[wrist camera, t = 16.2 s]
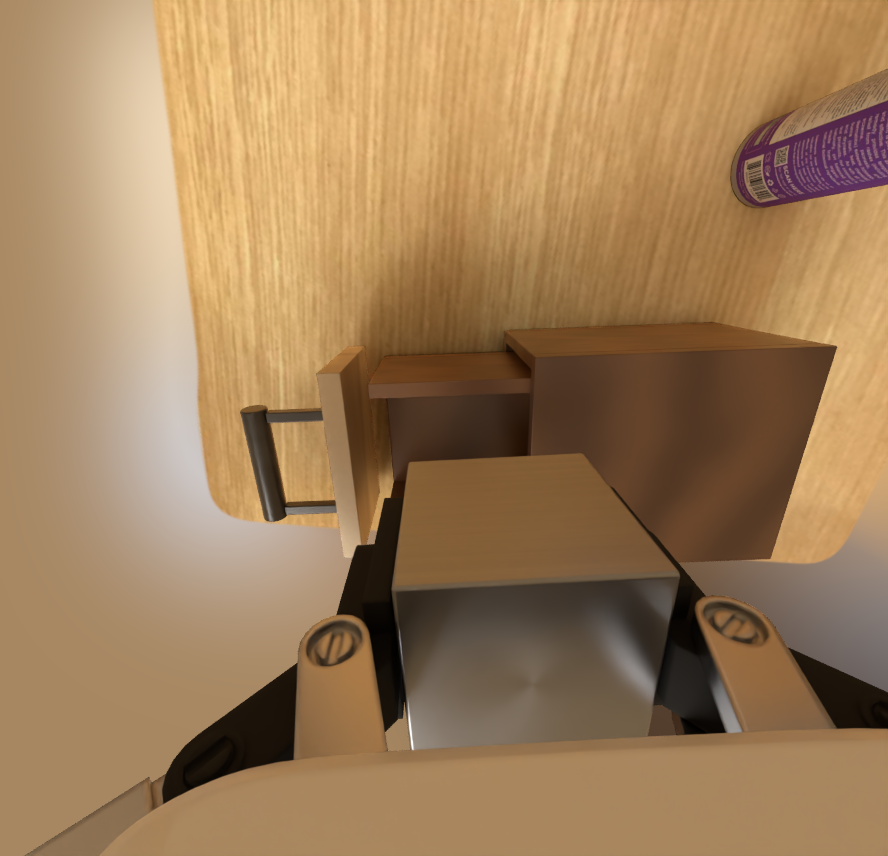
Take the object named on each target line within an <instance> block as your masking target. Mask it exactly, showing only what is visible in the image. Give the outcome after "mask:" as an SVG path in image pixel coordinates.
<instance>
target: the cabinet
mask: <svg viewBox="0 0 888 856" xmlns="http://www.w3.org/2000/svg"><path fill="white" fill-rule="evenodd" d="M836 349H837V346H834V345H828V344H821V343H817V342H812V341H806V340H801V339H796V338H791V337H785V336H780V335H775V334H770V333H764V332H759V331H754V330H749V329H743V328H738V327H733V326H727V325H722V324H717V323H712V322H710V323H683V324H655V325H628V326H601V327H574V328H547V329H519V330H505V331H504V352H515V353H516V354H517V355H518V356H519V357H520V358H521V359H522V360H523V361H524V362H525V363H526V364H527V365H528V366H529V367H530V368H531V387H530V409H529V432H528V454H527V456H538V455H557V454H577V453H582V454H584V455H585V457H586V458H587V459H588V460H589V461H590V463H591V464H592V465H593V466H594V468H595V469H596V470H597V471H598V473H599V474H600V475H601V476H602V477H603V479H604V480H605V481H606V482H607V484H608V485H609V486H610V487H613V488H614V489H615V490H616V491H617V492H618V494H619V495H620V496H621V497H622V499H623V500H624V501H625V502H626V503H627V505H628V506H629V507H630V508H631V510H632V511H633V512H634V513H635V514H636V516H637V517H638V518H639V519H640V521H641V522H642V523H643V524H644V525H645V527H646V528H647V529H648V530H649V531H651V532H652V533H653V534H655V536H656V537H657V538H658V539H659V540H660V542H661V543H662V544H663V545H664V546H665V548H666V549H667V550H668V551H669V552H670V554H671V555H672V556H673V557H674V558H675V560H676V561H677V562H678V563H680V562H705V561H729V560H755V559H770V558H771V555H772V552H773V549H774V546H775V543H776V539H777V536H778V533H779V530H780V527H781V523H782V520H783V517H784V514H785V511H786V508H787V504H788V501H789V498H790V495H791V492H792V488H793V485H794V482H795V479H796V476H797V473H798V469H799V466H800V463H801V460H802V457H803V453H804V450H805V447H806V444H807V441H808V438H809V434H810V431H811V428H812V425H813V422H814V418H815V415H816V412H817V409H818V406H819V403H820V399H821V396H822V393H823V390H824V387H825V383H826V380H827V377H828V374H829V371H830V368H831V364H832V361H833V358H834V355H835V352H836Z"/></svg>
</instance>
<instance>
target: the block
mask: <svg viewBox="0 0 888 856" xmlns="http://www.w3.org/2000/svg"><path fill="white" fill-rule="evenodd" d="M679 580H680V574H679V571H678V570H677V569H676V568H675V566H674V565H673V564H672V563H671V561H670V560H669V559H668V558H667V557H666V555H665V554H664V553H663V552H662V550H661V549H660V548H659V547H658V545H657V544H656V543H655V542H654V540H653V539H652V538H651V537H650V536H649V534H648V533H647V532H646V531H645V529H644V528H643V527H642V526H641V524H640V523H639V522H638V521H637V519H636V518H635V517H634V516H633V515H632V513H631V512H630V511H629V510H628V508H627V507H626V506H625V505H624V503H623V502H622V501H621V500H620V498H619V497H618V496H617V495H616V494H615V492H614V491H613V490H612V489H611V487H610V486H609V485H608V484H607V482H606V481H605V480H604V479H603V477H602V476H601V475H600V474H599V473H598V471H597V470H596V469H595V468H594V466H593V465H592V464H591V463H590V461H589V460H588V459H587V458H586V457H585V455H584V454H582V453H577V454H557V455H538V456H518V457H498V458H479V459H459V460H439V461H419V462H410V463H409V464H408V471H407V478H406V485H405V493H404V500H403V507H402V515H401V522H400V530H399V537H398V544H397V552H396V559H395V567H394V574H393V581H392V589H391V590H392V598H393V607H394V615H395V624H396V632H397V641H398V650H399V658H400V667H401V675H402V684H403V692H404V701H405V709H406V717H407V726H408V735H409V742H410V750H420V749H437V748H453V747H470V746H487V745H504V744H522V743H540V742H559V741H577V740H596V739H615V738H634V737H647V736H648V731H649V726H650V721H651V717H652V712H653V707H654V702H655V697H656V692H657V687H658V682H659V677H660V673H661V668H662V663H663V658H664V653H665V648H666V643H667V638H668V634H669V629H670V624H671V619H672V614H673V609H674V604H675V599H676V594H677V590H678V585H679Z"/></svg>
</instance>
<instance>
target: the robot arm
mask: <svg viewBox="0 0 888 856" xmlns="http://www.w3.org/2000/svg"><path fill="white" fill-rule="evenodd" d="M611 489H612V490H613V491H614V492H615V494H616V495H617V496H618V497H619V498H620V500H621V501H622V502H623V503H624V505H625V506H626V507H627V508H628V510H629V511H630V512H631V513H632V515H633V516H634V517H635V518H636V519H637V521H638V522H639V523H640V524H641V526H642V527H643V528H644V529H645V531H646V532H647V533H648V534H649V536H650V537H651V538H652V539H653V540H654V542H655V543H656V544H657V545H658V547H659V548H660V549H661V550H662V552H663V553H664V554H665V555H666V557H667V558H668V559H669V560H670V561H671V563H672V564H673V565H674V566H675V568H676V569H677V570H678V571H679V574H680V580H679V585H678V590H677V594H676V599H675V604H674V609H673V614H672V619H671V624H670V629H669V634H668V638H667V643H666V648H665V653H664V658H663V663H662V668H661V673H660V677H659V682H658V687H657V692H656V697H655V702H654V705H663V706H665V707H666V708H668V709H669V710H671V711H672V720H673V724H674V727H675V731H676V735H674V736H655V737H634V738H615V739H596V740H577V741H559V742H540V743H522V744H504V745H487V746H470V747H453V748H437V749H420V750H404V751H388V748H387V743H386V736H385V732H386V731H387V730H388V729H389V728H390V727H391V726H392V725H393V724H394V723H395V722H396V721H397V720H398V719H402V718H403V710H404V702H405V701H404V692H403V684H402V675H401V667H400V658H399V650H398V641H397V632H396V624H395V615H394V607H393V598H392V590H391V589H392V581H393V574H394V567H395V559H396V552H397V544H398V537H399V530H400V522H401V515H402V507H403V500H404V497H397V498H385V499H384V503H383V508H382V512H381V517H380V521H379V526H378V531H377V535H376V540H375V544H371V545H357V546H356V549H355V551H354V555H353V559H352V562H351V565H350V569H349V573H348V576H347V579H346V583H345V586H344V590H343V594H342V597H341V601H340V604H339V608H338V611H337V615H336V616H332V617H329V618H326V619H323V620H321V621H320V622H319V623H317V624H315V625H314V626H313V627H312V628H311V629H310V630H309V631H308V632H307V633H306V634H305V635H304V637H303V639H302V640H301V642H300V646H299V650H298V663H296V664H295V665H294V666H292V667H291V668H289V669H288V670H287V671H285V672H284V673H283V674H281V675H280V676H279V677H277V678H276V679H274V680H273V681H272V682H270V683H269V684H267V685H266V686H265V687H263V688H262V689H260V690H259V691H258V692H256V693H255V694H254V695H252V696H251V697H249V698H248V699H247V700H245V701H244V702H243V703H241V704H240V705H238V706H237V707H236V708H234V709H233V710H232V711H230V712H229V713H228V714H226V715H225V716H223V717H222V718H220V719H219V720H218V721H216V722H215V723H213V724H212V725H211V726H209V727H208V728H207V729H205V730H204V731H202V732H201V733H200V734H198V735H197V736H196V737H195V738H194V739H192V740H191V741H190V742H189V743H188V744H187V745H185V747H184V748H183V749H182V750H181V752H180V753H179V754H178V755H177V756H176V758H175V759H174V760H173V762H172V764H171V766H170V768H169V770H168V771H167V773H166V774H165V775H163V776H162V777H160V778H158V779H157V780H155V781H154V782H151V780H150V778H149V777H148V778H146V779H145V780H143V781H142V782H140V783H138V784H137V785H136V786H134V787H132V788H131V789H129V790H128V791H126V792H124V793H123V794H121V795H119V796H118V797H116V798H115V799H113V800H112V801H110V802H108V803H107V804H105V805H104V806H102V807H101V808H99V809H98V810H96V811H94V812H93V813H91V814H89V815H88V816H86V817H85V818H83V819H82V820H80V821H79V822H77V823H75V824H74V825H72V826H71V827H69V828H67V829H66V830H64V831H63V832H61V833H60V834H58V835H57V836H55V837H54V838H52V839H50V840H49V841H47V842H45V843H44V844H42V845H41V846H39V847H37V848H36V849H34V850H33V851H31V852H30V853H28V854H27V855H25V856H888V692H886V691H884V690H881V689H879V688H877V687H875V686H872V685H870V684H868V683H866V682H863V681H861V680H859V679H857V678H855V677H853V676H850V675H848V674H846V673H844V672H841V671H839V670H837V669H835V668H832V667H830V666H828V665H826V664H824V663H821V662H819V661H817V660H814V659H812V658H810V657H808V656H806V655H803V654H801V653H799V652H797V651H795V650H793V649H790V648H788V647H787V646H786V644H785V642H784V641H783V639H782V637H781V636H780V634H779V632H778V631H777V629H776V627H775V626H774V625H773V624H772V622H771V621H770V620H769V619H768V618H767V617H766V616H765V615H764V614H762V613H761V612H760V611H759V610H757V609H755V608H754V607H752V606H750V605H749V604H747V603H745V602H742V601H739V600H737V599H734V598H730V597H725V596H714V595H712V596H707V597H706V596H705V595H704V593H703V592H702V591H701V590H700V589H699V587H698V586H697V585H696V584H695V582H694V581H693V580H692V579H691V578H690V576H689V575H688V574H687V573H686V572H685V570H684V569H683V568H682V567H681V566H680V564H679V563H678V562H677V561H676V560H675V558H674V557H673V556H672V555H671V554H670V552H669V551H668V550H667V549H666V548H665V546H664V545H663V544H662V543H661V542H660V540H659V539H658V538H657V537H656V536H655V534H653V533H652V532H651V531H649V530H648V529H647V528H646V527H645V525H644V524H643V523H642V522H641V521H640V519H639V518H638V517H637V516H636V514H635V513H634V512H633V511H632V510H631V508H630V507H629V506H628V505H627V503H626V502H625V501H624V500H623V499H622V497H621V496H620V495H619V494H618V492H617V491H616V490H615V489H614V488H613V487H611Z"/></svg>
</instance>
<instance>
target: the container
mask: <svg viewBox="0 0 888 856" xmlns="http://www.w3.org/2000/svg"><path fill="white" fill-rule="evenodd" d="M731 183H732V187H733V190H734V193H735V194H736V196H737V198H738V199H739V200H740V201H741V202H742V203H744V204H745V205H747V206H750V207H754V208H764V207H770V206H776V205H781V204H786V203H792V202H797V201H802V200H808V199H813V198H818V197H824V196H829V195H834V194H840V193H845V192H850V191H856V190H861V189H866V188H872V187H877V186H882V185H888V69H886V70H884V71H881V72H879V73H877V74H875V75H872V76H870V77H868V78H866V79H863V80H861V81H859V82H857V83H854V84H852V85H850V86H848V87H846V88H843V89H841V90H839V91H837V92H834V93H832V94H830V95H828V96H825V97H823V98H821V99H819V100H816V101H814V102H812V103H810V104H807V105H805V106H803V107H801V108H799V109H796V110H794V111H792V112H790V113H787V114H785V115H783V116H781V117H778V118H776V119H774V120H772V121H770V122H768V123H765V124H763V125H762V126H760V127H758V128H757V129H755V130H754V131H753V132H752V133H751V134H749V135H748V137H747V138H746V139H745V140H744V141H743V143H742V144H741V146H740V147H739V149H738V151H737V153H736V155H735V158H734V160H733V164H732V169H731Z"/></svg>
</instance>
